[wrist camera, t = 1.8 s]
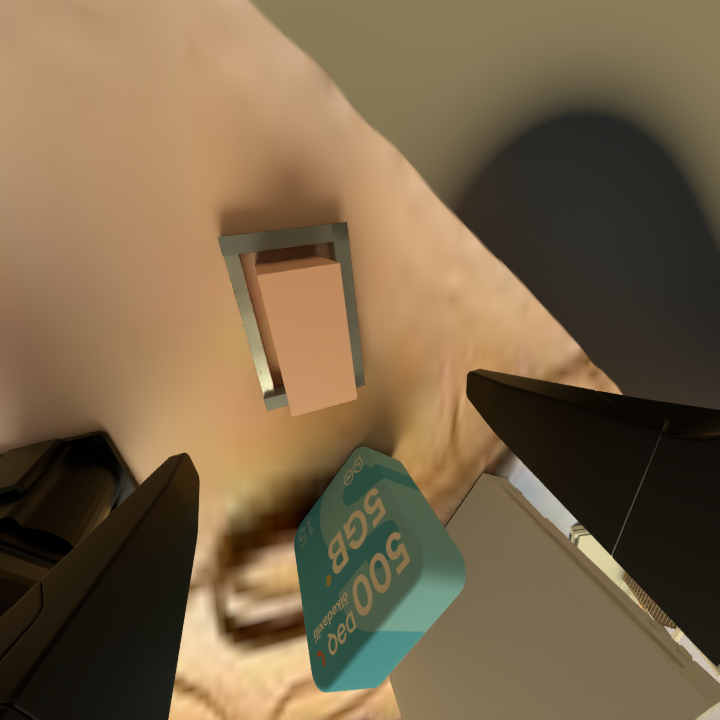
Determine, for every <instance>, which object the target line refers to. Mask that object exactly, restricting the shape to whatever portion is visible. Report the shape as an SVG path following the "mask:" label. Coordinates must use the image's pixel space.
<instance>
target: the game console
mask: <svg viewBox="0 0 720 720" xmlns="http://www.w3.org/2000/svg"><path fill="white" fill-rule="evenodd" d="M445 529H446V531H447V532H448V534H449V535H450V537H451V538H452V540H453V542H454V543H455V545H456V546H457V548H458V549H459V551H460V552H461V554H462V556H463V559H464V562H465V567H466V579H465V584H464V587H463V589H462V591H461V592H460V594H459V595H458V596H457V597H456V598H455V599H454V600H453V602H452V603H451V604H450V605H449V606H448V607H447V609H446V610H445V611H444V612H443V613H442V614H441V615H440V617H439V618H438V619H437V620H436V621H435V622H434V623H433V625H432V626H431V627H430V628H429V629H428V630H427V632H426V633H425V634H424V635H423V636H422V637H421V638H420V640H419V641H418V642H417V643H416V644H415V645H414V646H413V648H412V649H411V650H410V651H409V652H408V653H407V655H406V656H405V657H404V658H403V659H402V660H401V661H400V663H399V664H398V665H397V666H396V667H395V668H394V670H393V671H392V672H391V673H390V674H389V678H390V682H391V685H392V688H393V691H394V695H395V698H396V701H397V704H398V707H399V711H400V714H401V717H402V720H698V719H700V718H702V717H703V716H705V715H707V714H709V713H710V712H712V711H714V710H715V709H717V708H718V707H719V706H720V683H718V682H717V681H716V680H715V679H714V678H713V677H712V676H711V675H710V674H709V673H708V672H707V671H706V670H704V669H703V668H702V667H701V666H700V665H699V664H698V663H697V662H695V661H692V656H691V655H690V654H689V652H688V651H687V650H686V649H685V648H684V647H683V646H682V645H681V646H680V645H679V644H678V643H677V642H676V641H674V640H673V639H672V638H671V637H670V636H669V635H668V634H667V633H666V632H665V631H662V629H663V627H662V626H661V625H660V624H659V623H658V622H657V621H655V620H653V619H652V618H651V617H650V616H649V615H648V614H647V613H646V612H645V611H644V610H642V609H641V608H640V607H639V606H638V605H637V604H636V603H635V602H634V601H633V600H632V599H631V598H630V597H629V596H628V595H627V594H626V593H625V592H624V591H623V590H622V589H621V588H620V587H619V586H618V585H616V584H615V583H614V582H613V581H612V580H611V579H610V578H609V577H608V576H607V575H606V574H605V573H604V572H603V571H602V570H601V569H600V568H599V567H598V566H597V565H596V564H594V563H593V562H592V561H591V560H590V559H589V558H588V557H587V556H586V555H585V554H584V553H583V552H582V551H581V550H580V549H579V548H578V547H577V546H576V545H575V544H574V543H572V542H571V541H570V540H569V539H568V538H567V537H566V536H565V535H564V534H563V533H562V532H561V531H560V530H559V529H558V528H557V527H556V526H555V525H554V524H553V523H552V522H550V521H549V520H548V519H547V518H544V517H543V516H542V515H541V514H540V513H539V512H538V511H537V510H536V509H535V507H534V506H533V505H532V504H531V503H530V502H529V501H528V500H527V499H526V498H525V497H524V496H523V495H522V492H521V491H519V490H518V489H517V488H515V487H514V486H513V485H512V484H511V483H510V482H509V481H508V480H507V479H505V478H502V477H498V476H494V475H490V474H486V473H482V475H481V476H480V478H479V479H478V481H477V482H476V484H475V485H474V487H473V488H472V490H471V491H470V492H469V494H468V495H467V497H466V498H465V500H464V501H463V503H462V504H461V506H460V507H459V508H458V510H457V511H456V513H455V514H454V516H453V517H452V519H451V520H450V522H449V523H448V524H447V526H446V527H445Z"/></svg>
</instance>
